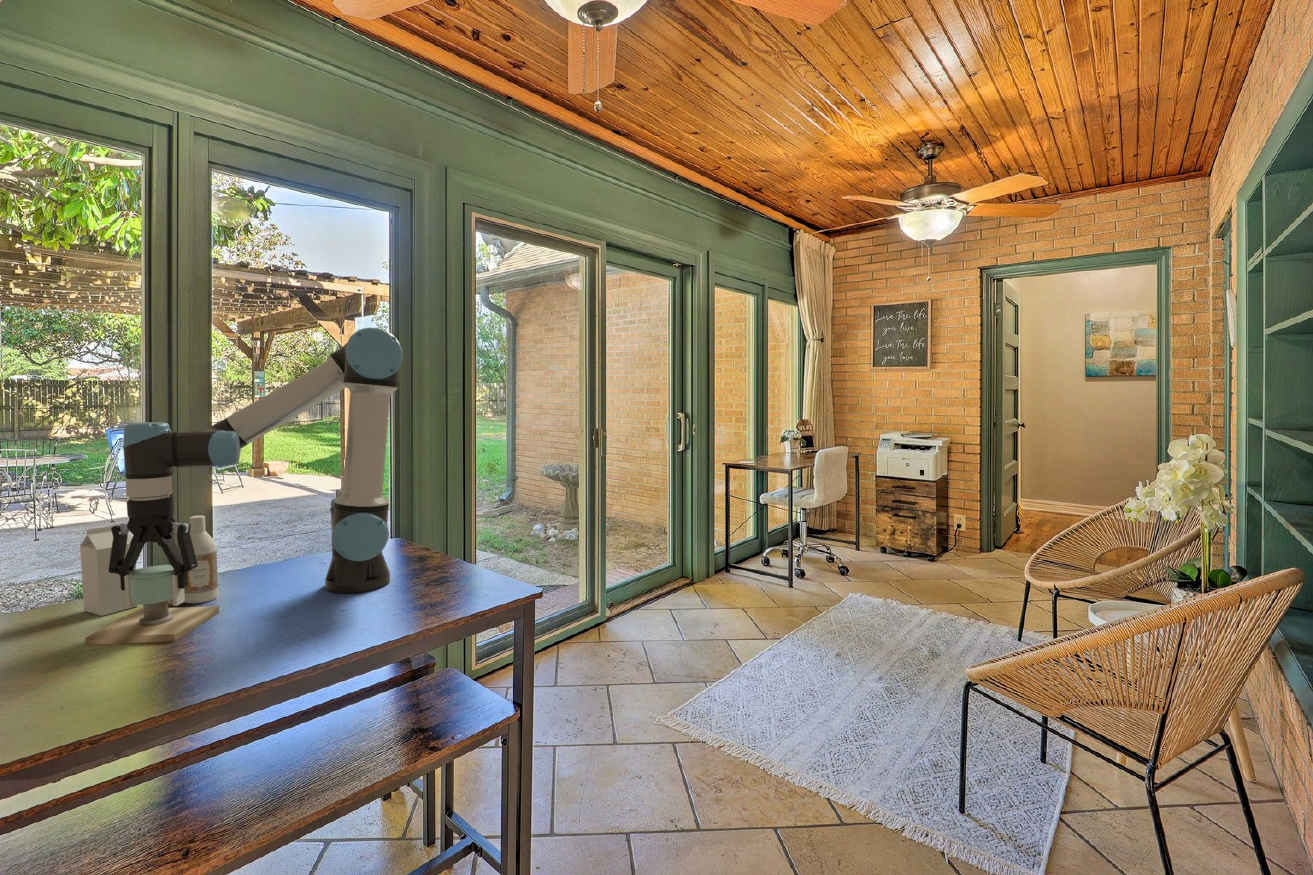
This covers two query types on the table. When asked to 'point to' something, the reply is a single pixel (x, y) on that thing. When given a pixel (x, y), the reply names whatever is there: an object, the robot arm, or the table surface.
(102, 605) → the milk carton
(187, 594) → the bath foam
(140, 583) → the cap
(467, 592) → the table surface
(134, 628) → the stud board
